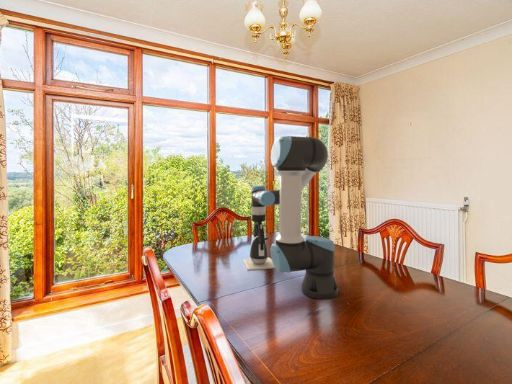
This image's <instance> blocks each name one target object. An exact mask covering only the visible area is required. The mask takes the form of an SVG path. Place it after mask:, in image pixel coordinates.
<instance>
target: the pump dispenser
mask: <svg viewBox="0 0 512 384" xmlns="http://www.w3.org/2000/svg"><path fill="white" fill-rule="evenodd" d="M267 240H269V236H267V237H265V244H264V256H259V244H258V243H259V237H258V236H256V237H253V240H252V242H251V246H250V251H249V259H251V261H252V262H253V263H255V264H263V263H265V262H266V261H267V258H269V250H268V246H267Z"/></svg>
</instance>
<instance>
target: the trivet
mask: <svg viewBox="0 0 512 384" xmlns="http://www.w3.org/2000/svg"><path fill="white" fill-rule="evenodd" d="M242 263H243V265H244V267H245V269H246V271H255V270H264V269H265V270H268V269H269V270H270V269H276V268H275V267H274V265H273V262H272V259H271V256H270V257H269V256H268V258H267V261H266V262H265V263H263V264H255V263H253V262H252V261H251V258H246V259H245V258H244V259H242Z"/></svg>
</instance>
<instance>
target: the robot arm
mask: <svg viewBox="0 0 512 384" xmlns="http://www.w3.org/2000/svg"><path fill="white" fill-rule="evenodd" d="M328 157H329V151H328V148H327V146H326V144H325V143H324V141H322V139H319V138H317V137H314V136H293V135H291V136H290V135H286V136H279V137H277V138H276V139H275V141H274V142H273V144H272V147H271V152H270V163H271V165H272V166H273V167H275V172H277V174H278V175H279V189H278V190H277V189H275V190H274V189H272V190H271V189H270V190H267V189H266V186H265V185H252V187H251V192H250V193H251V194H250V195H251V221H252V222H253V233H252V234H253V235H252V236H253V238H255V237H256V236H258V237H259V243H258V244H259V256H264V244H265V242H266V240H265V238H266V237H265V229H264V227H265V225H264V224H263V223H264V222H266V210H267V207H271V206H274V205H275V206H277V205H279V229H278V230H279V234H278V235H277V236H276V237H275V242H274V243H272V244H271V245H270V249H269V251H270V252H269V253H270V259H271V260H272V262H273V265H274V267H275V268H274V269H275V270H276V271H277V272H278V273H280V274H282V273H289V274H290V273H293V272H300V271H305V274H304V277H303V279H302V283H301V292H302V294H304V296H307V297H310V298H312V299H318V300H328V299H332V298H335V297H337V296H338V293H339V286H338V284H337V280H336V277H335V243H334V241H333V240H331V239H330V238H327V237H322V236H318V235H317V236H315V235H309V236H306V237H305V238H304V236H303V235H302V191H303V190H304V188H305V187H306V186H307V184H308V183H309V182H310V181H312V179H313V177H314V176H315V175H316V173H318V172H321V171H322V170H323V169H324V167H326V164H327V161H328V159H329V158H328Z"/></svg>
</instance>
